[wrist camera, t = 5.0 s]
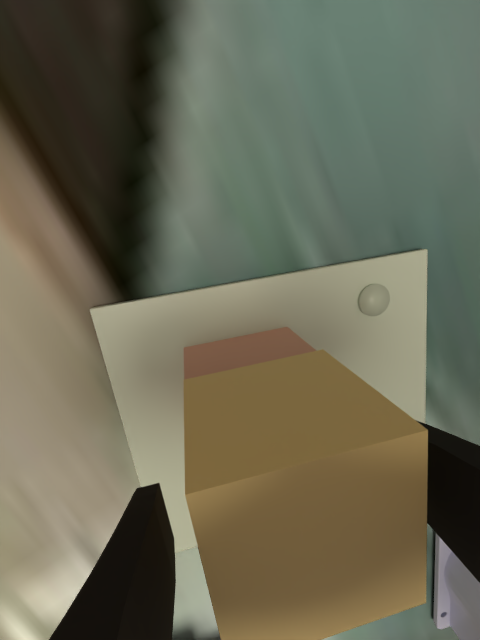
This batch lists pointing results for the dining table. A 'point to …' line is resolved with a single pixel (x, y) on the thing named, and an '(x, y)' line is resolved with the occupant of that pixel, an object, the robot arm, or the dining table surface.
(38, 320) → the dining table surface
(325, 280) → the plate
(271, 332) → the terracotta brick
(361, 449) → the ochre brick
